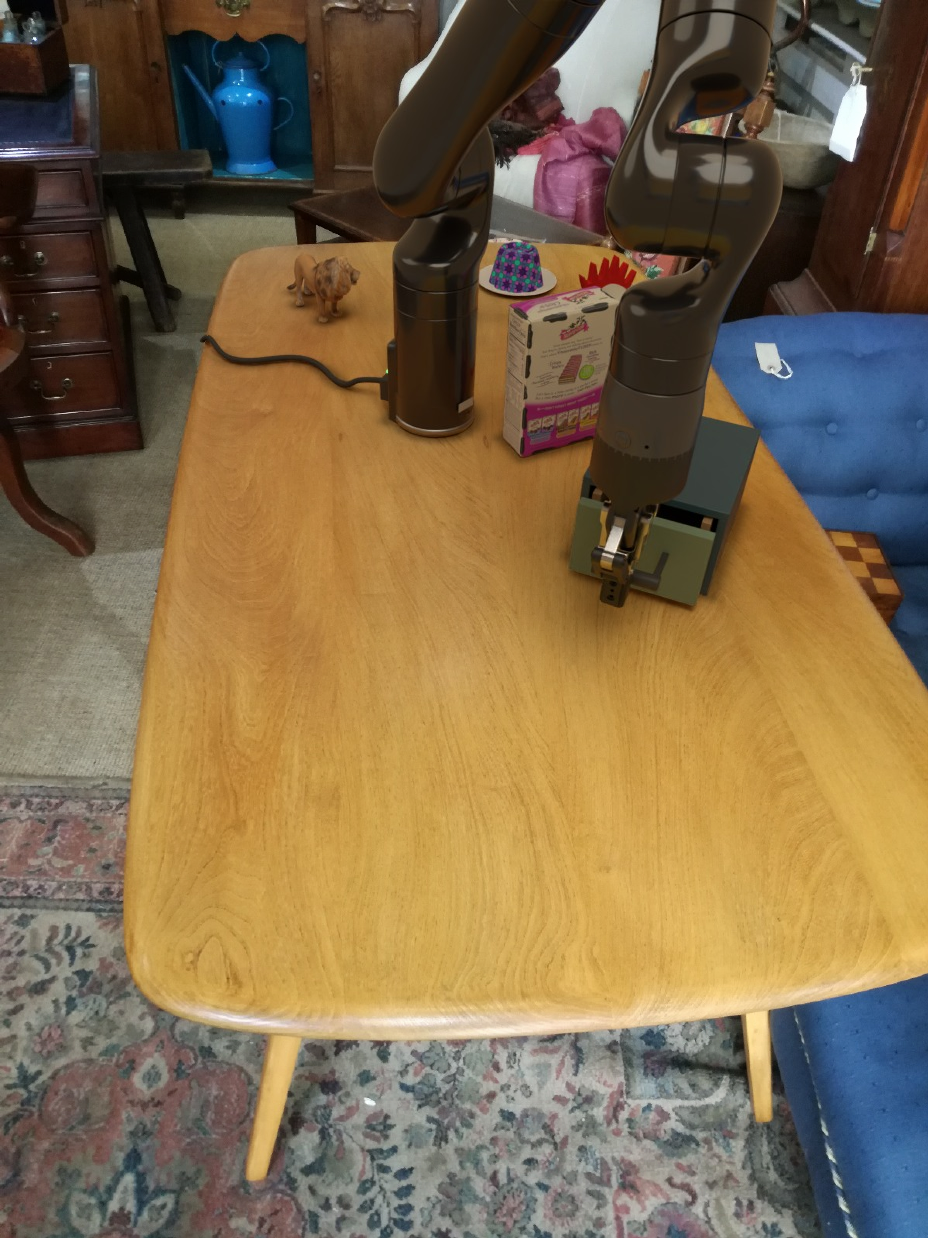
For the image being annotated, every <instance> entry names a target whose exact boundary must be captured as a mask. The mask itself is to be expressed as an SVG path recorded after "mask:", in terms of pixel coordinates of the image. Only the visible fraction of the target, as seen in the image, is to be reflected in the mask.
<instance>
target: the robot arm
mask: <svg viewBox="0 0 928 1238" xmlns="http://www.w3.org/2000/svg"><path fill="white" fill-rule="evenodd" d="M606 1H607V0H465V2H464V3H463V5H462V7H461V8H460V10H459V12H458V13H457V15H456V17H455V19H454V21H453V22H452V24H451V26H450V28H449V29H448V31H447V33H446V35H445V37H444V38H443V40H442V42H441V44H440V46H439V48H438V49H437V51H436V53H435V55H434V56H433V57H432V59H431V61H430V62H429V64H427V67H426V68H425V70H424V71H423V72H422V74H421V75H420V77H419V78H418V80H417V81H416V82H415V84H414V85H413V86H412V87H411V89H410V90H409V91H408V93H407V94H406V95H405V97H404V98H403V99H402V101H401V103H399V105H398V106H397V107H396V109H395V110H394V111H393V113H392V114H391V115H390V117H389V118H388V120H387V121H386V122H385V124H384V126H383V127H382V129H381V131H380V132H379V135H378V136H377V139H376V142H375V145H374V149H373V154H372V155H373V156H372V164H371V167H372V169H371V170H372V179H373V184H374V185H373V186H374V188H375V190H376V193H377V196H378V198H379V200H380V201H381V203H382V204H383V206H384V207H386V208H387V210H388V211H390V212H391V213H392V214H394V215H396V216H398V217H400V218H403V219H404V218H405V219H410V220H413V221H412V222H411V224H410V226H409V227H408V229H407V230H406V231H405V233H404V234H403V235H402V236H401V237H400V238H399V239H398V241H397V242H396V243H395V245H394V247H393V251H392V255H391V256H392V257H391V259H392V260H391V261H392V262H391V263H392V264H391V265H392V266H391V267H392V268H391V269H392V303H393V304H392V305H393V306H392V309H393V338H392V339H391V340H390V341H389V342H388V343H387V344H386V363H387V364H386V365H387V366H386V368H387V369H386V372H385V373H384V374H383V375H382V376H381V377H380V376H378V377H377V376H357V377H354V378H353V379H350V380H347V381H346V380H344V379H343V380H342V379H340V378H338V377H336V376H335V375H334V373H333V372H331V370H329V369H328V368H327V367H326V366H325V365H324V364H323V363H322V362H321V361H319V360H317V359H315V358H313V357H310V356H305V355H299V354H278V355H276V354H275V355H267V356H257V357H243V356H242V357H240V356H235V355H232V354H229V353H227V352H226V351H224V350H223V348H221V347H220V345H219V343H218V342H217V340H216V339H215V338H214V337H213V336H212V335H210V334H204V335H203V336H202V337H200V339H199V342H200V343H206V342H209V343H210V345H211V346H212V348H213V349H214V350H215V352H216V353H217V354H218V355H219V356H221V357H222V358H223V359H225V360H227V361H229V362H231V363H237V364H244V365H245V364H251V365H252V364H264V363H273V362H274V363H275V362H284V361H285V362H286V361H295V362H303V363H307V364H310V365H312V366H315V367H316V368H318V369H319V370H320V371H321V372H322V373H323V374H324V375H325V376H326V377H327V378H328V379H329V380H330V381H331V382H333V383H335V384H336V385H337V386H340V387H343V388H350V387H353V386H355V385H358V384H364V383H365V384H366V383H367V384H369V383H370V384H379V397H380V401H384V402H388V403H387V404H388V405H387V406H388V419H389V420H390V421H394V422H396V423H397V424H398V426H399V427H400V428H401V429H403V430H405V431H406V432H409V433H411V434H413V435H418V436H421V437H429V438H441V437H449V436H453V435H457V434H459V433H462V432H463V431H465V430H467V429H468V428H469V427H470V426H471V425H472V424H473V422H474V420H475V408H474V407H475V386H476V385H475V383H476V382H475V381H476V363H477V362H476V360H477V338H478V337H477V334H478V315H479V314H478V313H479V292H480V291H479V289H480V287H479V286H480V284H479V271H480V270H481V268H480V267H481V262H482V260H483V257H484V255H485V253H486V252H487V248H488V245H489V239H490V231H491V221H492V213H493V212H492V211H493V203H494V202H493V200H494V192H495V191H494V190H495V178H496V177H495V176H496V159H495V147H494V142H493V139H492V134H491V132H490V129H489V127H488V125H489V124H490V122H492V121H493V120H494V119H495V118H496V116H497V115H498V114H500V113H501V112H502V111H503V110H504V109H505V108H506V107H507V106H509V105H510V104H512V103H513V101H515V100H516V99H517V98H518V97H520V96H521V95H522V94H523V93H524V92H525V91H526V90H528V89H529V88H530V87H531V86H533V85H534V84H535V83H536V82H538V80H539V79H540V78H542V77H543V76H544V75H545V74H546V73H547V72H548V71H549V70H550V69H552V68H553V67H554V66H555V65H556V64H557V63H558V62H559V61H560V60H561V59H562V58H563V57H564V56H565V55H566V54H567V52H569V50H570V49H571V48H572V47H573V46H574V44H575V43H576V42H577V41H578V39H579V38H580V37H581V36H582V35H583V33H584V32H585V31H586V29H587V28H588V26H589V25H590V24H591V22H592V20H593V19H594V18H595V16H596V15H597V14H598V12H599V11H600V10H601V9H602V7H603V6H604V4H605V2H606ZM777 5H778V0H660V4H659V11H658V19H657V26H656V34H655V42H654V48H653V55H652V58H651V59H652V60H651V65H650V69H649V73H648V78H647V81H646V82H647V83H646V85H645V89H644V92H643V95H642V97H641V101H640V103H639V106H638V109H637V111H636V114H635V116H634V119H633V121H632V124H631V126H630V128H629V131H628V133H627V134H626V137H625V139H624V141H623V143H622V145H621V148H620V149H619V152H618V155H617V157H616V159H615V161H614V164H613V166H612V169H611V172H610V174H609V177H608V181H607V182H606V183H607V184H606V188H605V193H604V200H603V216H604V221H605V225H606V227H607V230H608V232H609V235H610V236H611V238H612V239H613V241H614V242H615V243H616V245H617V246H619V247H620V248H621V249H623V250H625V251H628V252H632V253H637V254H645V255H646V254H647V255H655V256H659V255H660V256H668V257H678V258H686V259H695V260H696V259H697V260H700V261H699V262H697V264H696V265H695V266H694V267H692V268H691V269H690V270H688V271H686V272H682V273H679V274H673V275H668V276H662V277H656V278H651V279H645V280H641V281H638V282H636V283H634V284H632V285H631V287H629V288H628V289H627V290H626V291H625V292H624V293H623V295H622V297H621V299H620V302H619V305H618V309H617V314H616V321H615V326H614V333H613V339H612V346H611V352H610V359H609V365H608V370H607V374H606V378H605V381H604V384H603V387H602V391H601V396H600V402H599V408H598V415H597V422H596V428H595V434H594V438H593V442H592V448H591V454H590V461H589V466H590V468H589V471H590V476H591V479H592V481H593V483H594V484H595V485H596V486H597V487H598V488H599V489H600V490H601V491H602V492H603V493H604V494H605V495H606V496H607V497H608V498H609V499H610V501H604V504H603V506H602V510H601V516H600V522H601V524H602V530H601V537H600V543H599V545H598V547H596V546H595V548H594V550H592V552H591V563H592V566H593V568H594V571H595V574H596V576H597V577H601V578H603V579H601V587H600V590H599V592H600V593H599V595H598V596H599V597H598V599H599V602H601V603H602V604H605V605H608V606H611V607H614V608H617V609H618V608H619V609H620V608H623V607H625V604H626V601H627V599H628V597H629V596H630V595H629V594H630V589H631V587H630V585H631V580H632V576H633V573H634V566H636V564H637V563H638V562H639V560H640V555H641V553H642V551H643V549H644V545H646V543H647V541H648V539H649V537H650V533H651V529H652V525H653V520H654V517H655V516H656V514H657V512H658V510H659V508H660V504H661V503H664V502H667V501H669V500H671V499H673V498H675V497H676V496H678V495H679V494H680V493H681V492H682V491H683V489H684V487H685V485H686V482H687V478H688V474H689V470H690V465H691V461H692V457H693V453H694V448H695V444H696V440H697V436H698V432H699V427H700V423H701V419H702V416H704V409H705V403H706V402H705V401H706V389H707V382H708V377H709V373H710V369H711V364H712V360H713V356H714V352H715V349H716V348H715V347H716V344H717V341H718V335H719V332H720V330H721V326H722V324H723V320H724V318H725V315H726V312H727V310H728V308H729V305H730V303H731V302H732V299H733V297H734V295H735V293H736V291H737V289H738V286H739V285H740V283H741V281H742V279H743V277H745V274H746V273H747V270H748V269H749V267H750V265H751V264H752V262H753V260H754V259H755V258H756V255H757V254H758V253H759V252H758V251H759V250H760V248H761V247H762V245H763V243H764V241H765V239H766V238H767V236H768V233H769V232H770V231H771V228H772V226H773V223H774V221H775V219H776V216H777V214H778V211H779V209H780V205H781V200H782V196H783V188H784V187H783V186H784V179H783V170H782V167H781V162H780V160H779V158H778V156H777V153H776V152H775V150H774V149H773V148H772V147H771V146H770V145H769V144H768V143H766V142H765V141H763V140H761V139H756V138H751V137H741V136H731V135H729V136H728V135H725V136H724V137H723V135H717V134H704V133H692V132H679V131H678V130H679V129H680V128H681V127H683V126H684V125H687V124H689V123H691V122H695V121H699V120H705V119H712V118H717V117H721V116H725V115H729V114H733V113H735V112H738V111H740V110H742V109H744V108H746V107H748V106H749V105H750V104H752V103H753V101H755V100H756V98H757V97H758V96H759V94H760V92H761V91H762V88H763V87H764V84H765V79H766V77H767V73H768V66H769V61H770V54H771V47H772V46H771V45H772V40H773V34H774V27H775V26H774V25H775V19H776V12H777ZM207 335H208V336H207ZM597 577H596V578H597Z"/></svg>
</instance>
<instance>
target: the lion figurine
mask: <svg viewBox="0 0 928 1238" xmlns="http://www.w3.org/2000/svg"><path fill="white" fill-rule="evenodd" d="M293 266H294V267H293V273H294V279H295V280H294V281H293V283H292V284H290V285H288V286H286V289H287V290H289V291H292V290H294V289H295V297H296V298H295V306H296V307H303V306H305V302H304V300H303V298H302V287H303V292H304V294H305V295H307V296H310V295H313V294H315V299H316V305H317V311H318V322H319V323H321V324H326V323H328V322H329V319H328V314H327V312H326V301H327V302H330V314H331V315H332V316H334V317H335V318H339V317H340V316H342V311H341V310H338V303H339V302H340V301H341V300H342V299H343V298H344V296H347V294H348V293H349V292H351V290H352V286H357V284H358V281H359V280H360V275H361V271H360V270H358V269H356V268H354V267H353V266H352V265H351V264H349V262H348V257H347V256H344V255H340V256H338V255H336V256H333V257H330V258H329V259H325V260H324V261H319V262H318V263H317V262H316V259H315V257H314V256H313V255H311V254H309V253H304V252H302V253H300V254H299V255H298V256H297V257H296V258H295V260H294V265H293Z"/></svg>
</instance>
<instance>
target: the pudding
mask: <svg viewBox="0 0 928 1238" xmlns="http://www.w3.org/2000/svg"><path fill="white" fill-rule="evenodd" d="M494 259H495V260H494V262H493V263H492V264H489V265H486V266H484V267H482V268H480V270H479V285H480V286H482V287H483V288H485V289H486V290H489V291H491V292H493V293H497V294H501V295H506V296H514V297H515V296H519V297H525V296H526V297H527V296H535V295H539V294H543V293H546V292H548V291H550V290H552V289H553V288H554V287H556V285H557V282H558V281H557V277H556V275H555V274H554V273H553V272H552V271H550V270H549V269H547V268H545V267H543V266H541V258H540V254H539V250H538V249H537V247H536V246H535V245H533V244H530V243H528V242H525V241H521V242H519V241H510V242H506V243H503V244H501V246H499V248H498V250H497V253H496V256H495V258H494Z"/></svg>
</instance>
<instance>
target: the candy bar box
mask: <svg viewBox="0 0 928 1238" xmlns="http://www.w3.org/2000/svg"><path fill="white" fill-rule="evenodd" d="M618 305H619V301H618V300H616V299H615V298H613V297H612V296H610V295H609V294H608V293H606V292H605V291H602V289H601V288H599V287H597V286H593V287H588V288H584V289H582V288H578V289H573V290H569V291H565V292H564V291H563V292H559V293H556V294H551V295H546V296H541V297H536V298H533V299H532V298H531V299H528V300H524V301H518V302H514V303H509V304H508V315H507V316H508V319H507V321H508V322H507V342H506V357H505V358H506V359H505V380H504V398H503V399H504V400H503V416H502V418H503V420H502V439H503V440H504V441H505V443H506V444H507V445H509V446H510V447H511V448H512V449H513V451H514V452H516V454H517V455H519V456H520V458H526V457H530V456H533V455H537V454H540V453H544V452H548V451H551V450H554V449H555V450H556V449H559V448H562V447H565V446H569V445H573V444H577V443H580V442H584V441H587V440H590V439H594V434H595V428H596V422H597V415H598V408H599V402H600V396H601V391H602V387H603V384H604V381H605V378H606V374H607V370H608V365H609V359H610V352H611V346H612V339H613V333H614V326H615V321H616V314H617V309H618Z"/></svg>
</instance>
